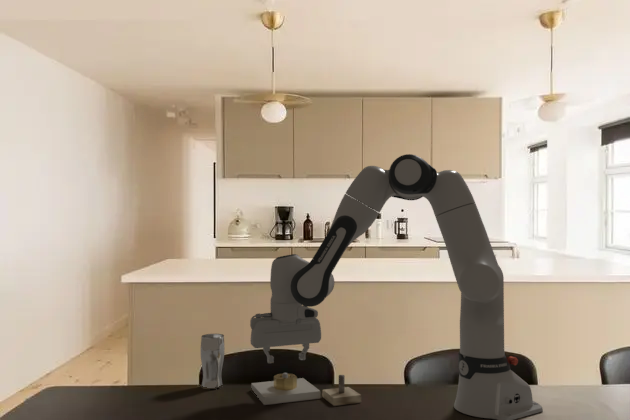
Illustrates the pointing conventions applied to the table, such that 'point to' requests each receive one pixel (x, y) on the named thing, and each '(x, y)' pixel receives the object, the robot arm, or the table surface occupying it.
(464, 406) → the robot arm
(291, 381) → the collar
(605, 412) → the table surface
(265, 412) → the table surface
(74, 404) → the table surface
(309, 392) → the block
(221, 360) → the beer glass
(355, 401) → the stand
